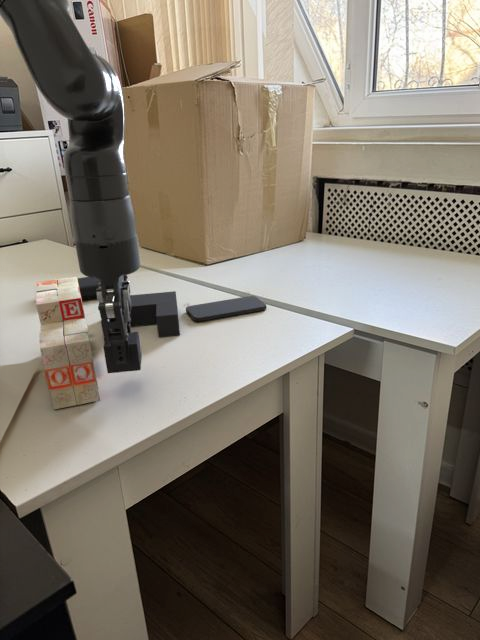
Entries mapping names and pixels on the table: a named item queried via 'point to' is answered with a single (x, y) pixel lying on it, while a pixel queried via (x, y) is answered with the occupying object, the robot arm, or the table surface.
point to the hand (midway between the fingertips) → (123, 356)
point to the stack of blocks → (65, 343)
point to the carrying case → (88, 287)
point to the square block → (134, 354)
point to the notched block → (155, 312)
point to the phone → (225, 308)
